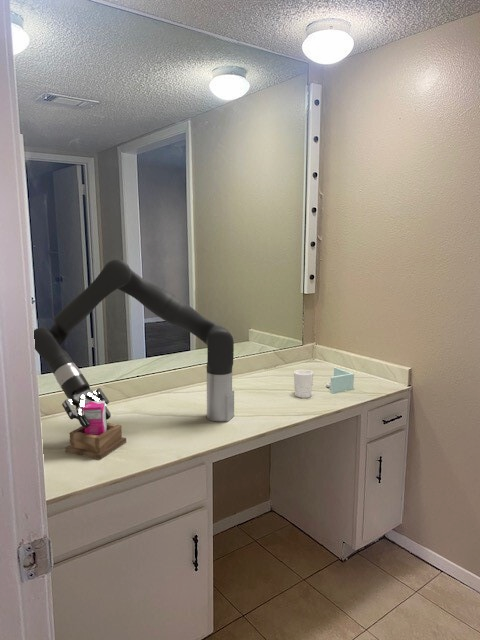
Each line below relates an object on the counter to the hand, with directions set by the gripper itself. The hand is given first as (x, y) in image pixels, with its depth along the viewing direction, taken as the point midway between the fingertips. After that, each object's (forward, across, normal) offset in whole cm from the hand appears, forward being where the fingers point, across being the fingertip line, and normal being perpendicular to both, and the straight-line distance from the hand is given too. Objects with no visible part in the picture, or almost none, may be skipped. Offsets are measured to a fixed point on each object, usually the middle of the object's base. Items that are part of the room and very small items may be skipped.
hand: (98, 422), depth 150 cm
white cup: (+29, +81, -17) cm, 88 cm away
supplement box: (+3, 0, +5) cm, 6 cm away
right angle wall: (+34, +98, -21) cm, 106 cm away
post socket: (+5, 0, +7) cm, 8 cm away
